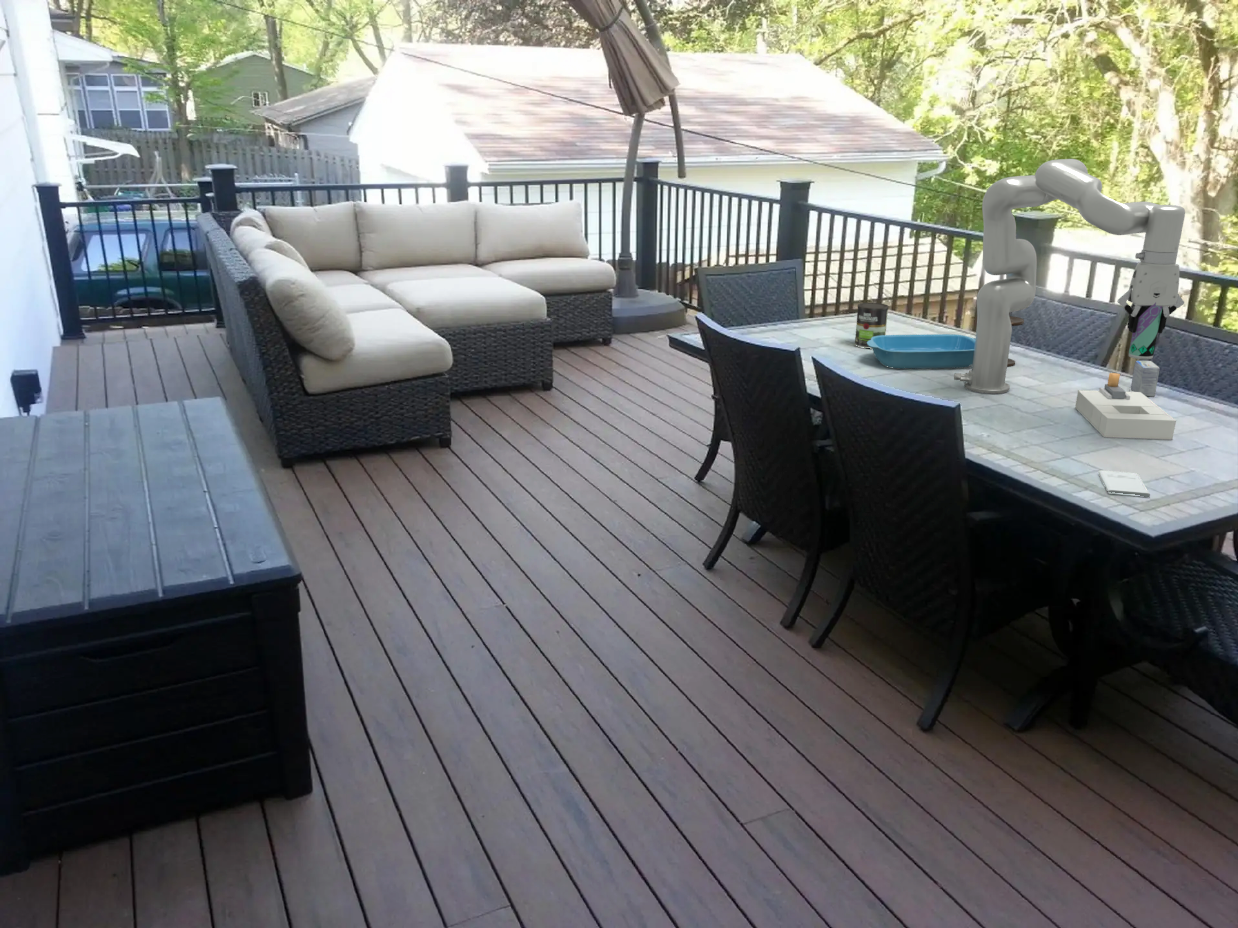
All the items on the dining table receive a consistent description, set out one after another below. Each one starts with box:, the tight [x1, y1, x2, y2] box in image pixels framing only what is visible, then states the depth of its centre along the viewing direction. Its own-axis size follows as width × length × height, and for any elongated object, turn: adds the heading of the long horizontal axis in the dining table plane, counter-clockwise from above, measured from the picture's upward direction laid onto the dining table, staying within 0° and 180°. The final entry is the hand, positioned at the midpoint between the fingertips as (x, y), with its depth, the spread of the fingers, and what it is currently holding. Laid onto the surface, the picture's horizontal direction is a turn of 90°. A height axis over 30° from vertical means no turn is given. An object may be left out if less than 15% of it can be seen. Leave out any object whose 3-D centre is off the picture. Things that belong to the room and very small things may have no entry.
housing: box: [1074, 387, 1177, 441], centre depth 251 cm, size 16×25×6 cm, turn 171°
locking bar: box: [1103, 372, 1126, 399], centre depth 257 cm, size 3×7×5 cm, turn 172°
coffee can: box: [854, 302, 890, 350], centre depth 331 cm, size 10×10×14 cm
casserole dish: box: [867, 333, 976, 370], centre depth 311 cm, size 37×22×7 cm, turn 89°
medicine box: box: [1130, 360, 1160, 398], centre depth 276 cm, size 8×4×9 cm, turn 168°
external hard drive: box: [1097, 469, 1151, 499], centre depth 212 cm, size 2×8×12 cm
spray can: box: [1128, 291, 1163, 360], centre depth 237 cm, size 6×6×20 cm
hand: (1145, 331), depth 239 cm, fingers closed on spray can, 5 cm apart
